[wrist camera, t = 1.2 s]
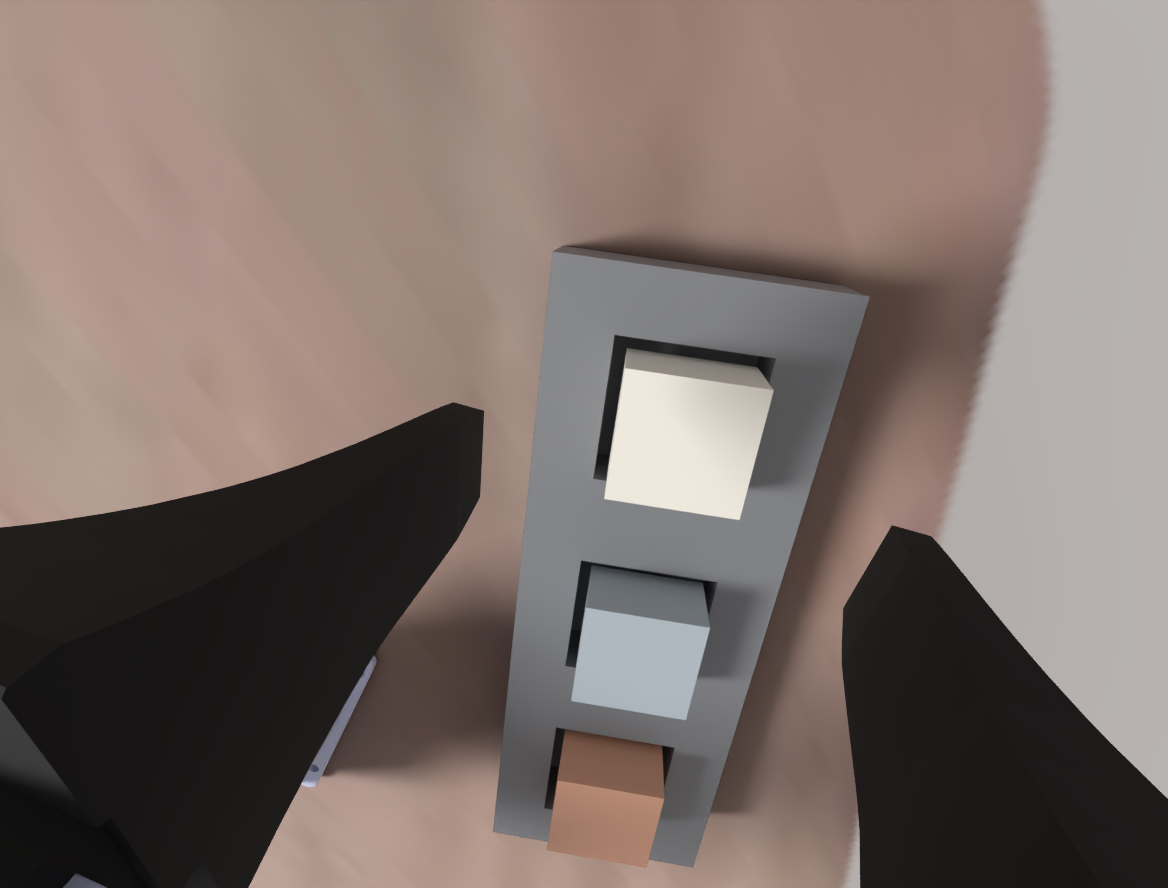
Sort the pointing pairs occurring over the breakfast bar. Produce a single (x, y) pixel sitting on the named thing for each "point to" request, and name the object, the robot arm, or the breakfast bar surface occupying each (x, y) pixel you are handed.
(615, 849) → the terracotta key
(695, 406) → the cream key
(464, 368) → the breakfast bar surface
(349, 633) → the robot arm
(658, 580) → the slate key
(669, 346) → the key panel
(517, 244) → the breakfast bar surface
